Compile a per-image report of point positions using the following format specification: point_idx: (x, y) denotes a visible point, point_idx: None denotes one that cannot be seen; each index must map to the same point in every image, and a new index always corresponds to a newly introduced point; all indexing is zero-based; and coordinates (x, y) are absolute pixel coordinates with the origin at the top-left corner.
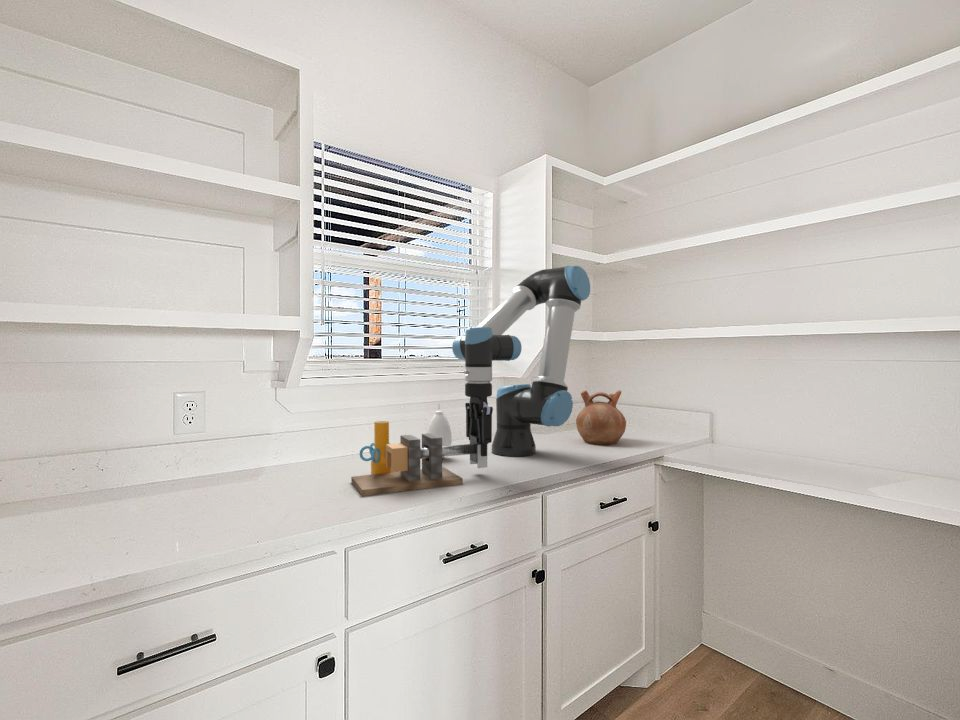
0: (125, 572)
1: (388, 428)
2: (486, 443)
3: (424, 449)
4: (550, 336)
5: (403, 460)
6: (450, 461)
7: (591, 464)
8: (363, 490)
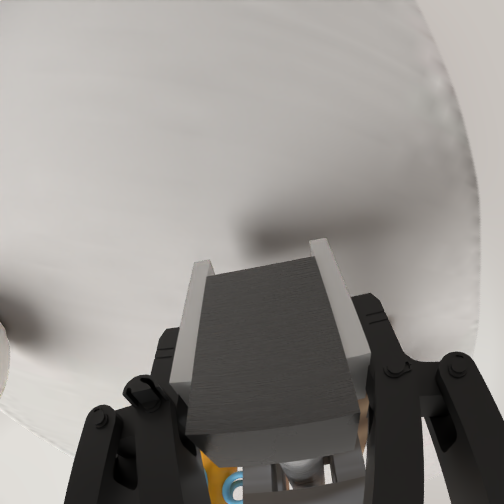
0: (440, 468)
1: None
2: (421, 370)
3: (317, 485)
4: None
5: None
6: (17, 301)
7: None
8: (362, 454)
